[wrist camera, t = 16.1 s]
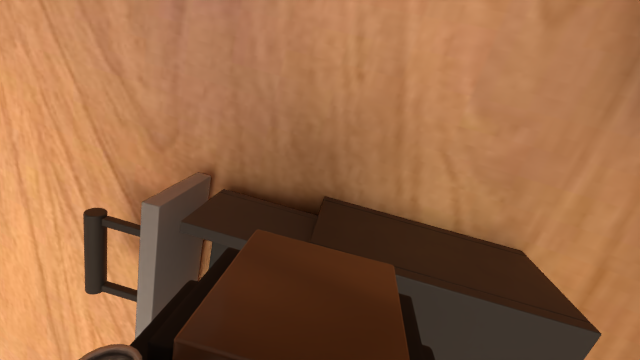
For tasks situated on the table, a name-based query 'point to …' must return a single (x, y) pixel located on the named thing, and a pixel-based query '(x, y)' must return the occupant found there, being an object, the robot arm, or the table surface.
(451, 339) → the cabinet
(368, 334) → the block
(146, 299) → the drawer
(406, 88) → the table surface
